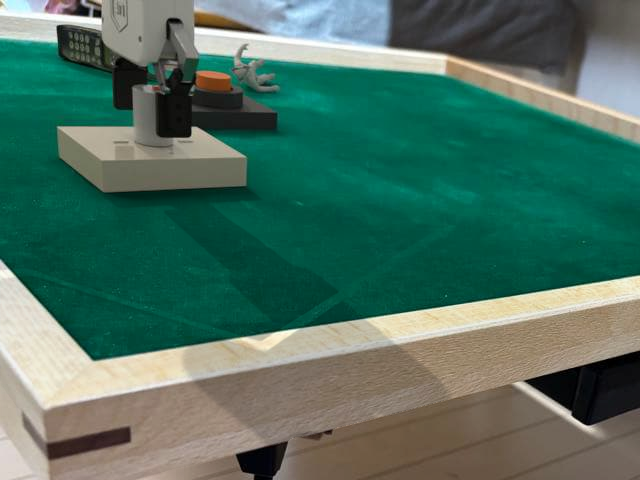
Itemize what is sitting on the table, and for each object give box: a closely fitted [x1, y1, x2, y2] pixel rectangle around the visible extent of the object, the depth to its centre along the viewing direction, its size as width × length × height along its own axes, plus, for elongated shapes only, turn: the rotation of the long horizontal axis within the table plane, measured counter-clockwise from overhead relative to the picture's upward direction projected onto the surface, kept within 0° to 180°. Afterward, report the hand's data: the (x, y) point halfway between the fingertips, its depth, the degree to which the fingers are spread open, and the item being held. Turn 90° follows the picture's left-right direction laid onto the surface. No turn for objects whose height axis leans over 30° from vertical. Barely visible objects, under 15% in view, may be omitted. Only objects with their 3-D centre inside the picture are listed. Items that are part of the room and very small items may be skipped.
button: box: [196, 70, 232, 91], centre depth 108 cm, size 4×4×2 cm
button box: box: [192, 82, 279, 131], centre depth 109 cm, size 12×10×4 cm
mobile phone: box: [55, 23, 157, 81], centre depth 121 cm, size 5×3×15 cm
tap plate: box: [56, 126, 248, 194], centre depth 87 cm, size 14×11×3 cm
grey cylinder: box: [132, 84, 174, 147], centre depth 85 cm, size 4×4×5 cm
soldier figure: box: [229, 43, 281, 93], centre depth 129 cm, size 8×5×12 cm
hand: (151, 122), depth 85 cm, fingers open, 9 cm apart
